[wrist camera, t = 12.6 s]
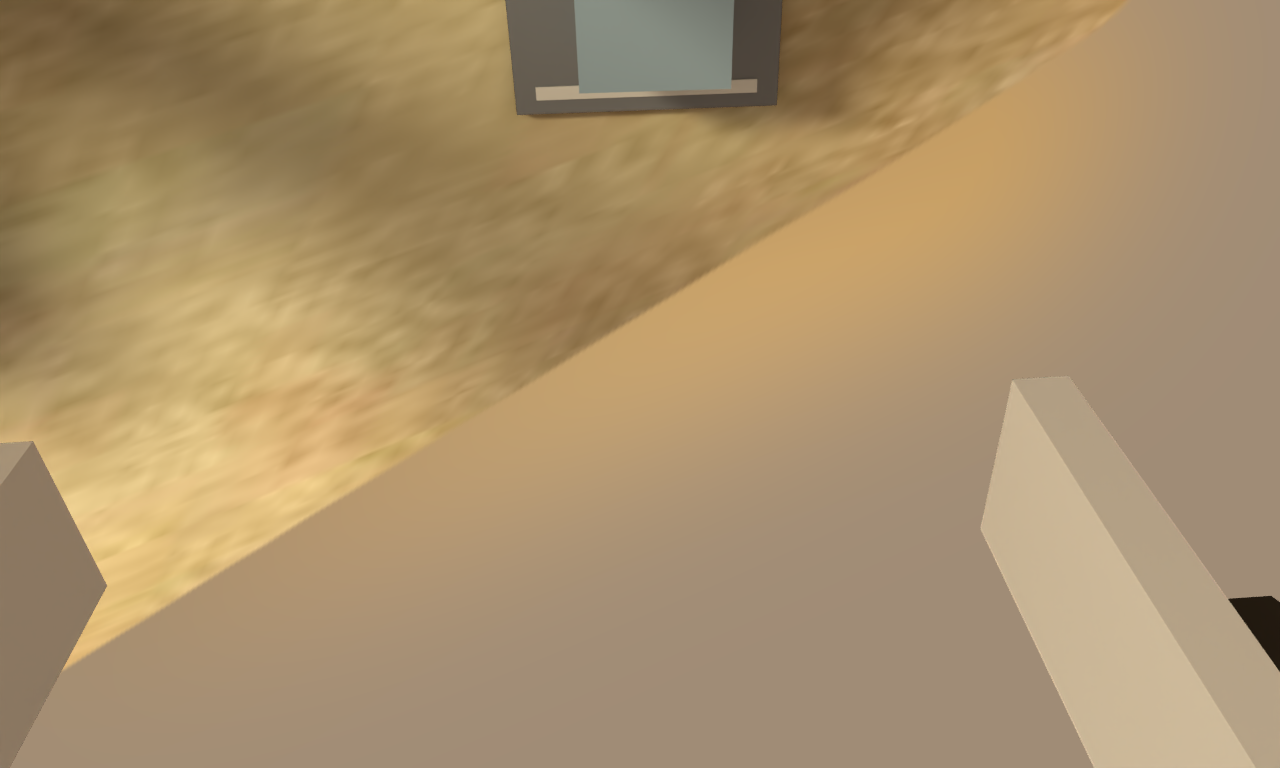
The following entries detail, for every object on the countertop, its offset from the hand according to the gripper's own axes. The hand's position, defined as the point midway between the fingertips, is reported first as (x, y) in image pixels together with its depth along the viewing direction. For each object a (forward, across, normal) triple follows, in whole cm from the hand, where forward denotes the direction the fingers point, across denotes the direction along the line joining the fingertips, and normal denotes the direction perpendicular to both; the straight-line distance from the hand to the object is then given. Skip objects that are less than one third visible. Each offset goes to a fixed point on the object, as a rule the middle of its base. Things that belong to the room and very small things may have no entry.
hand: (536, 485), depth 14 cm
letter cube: (+26, +3, +1) cm, 27 cm away
